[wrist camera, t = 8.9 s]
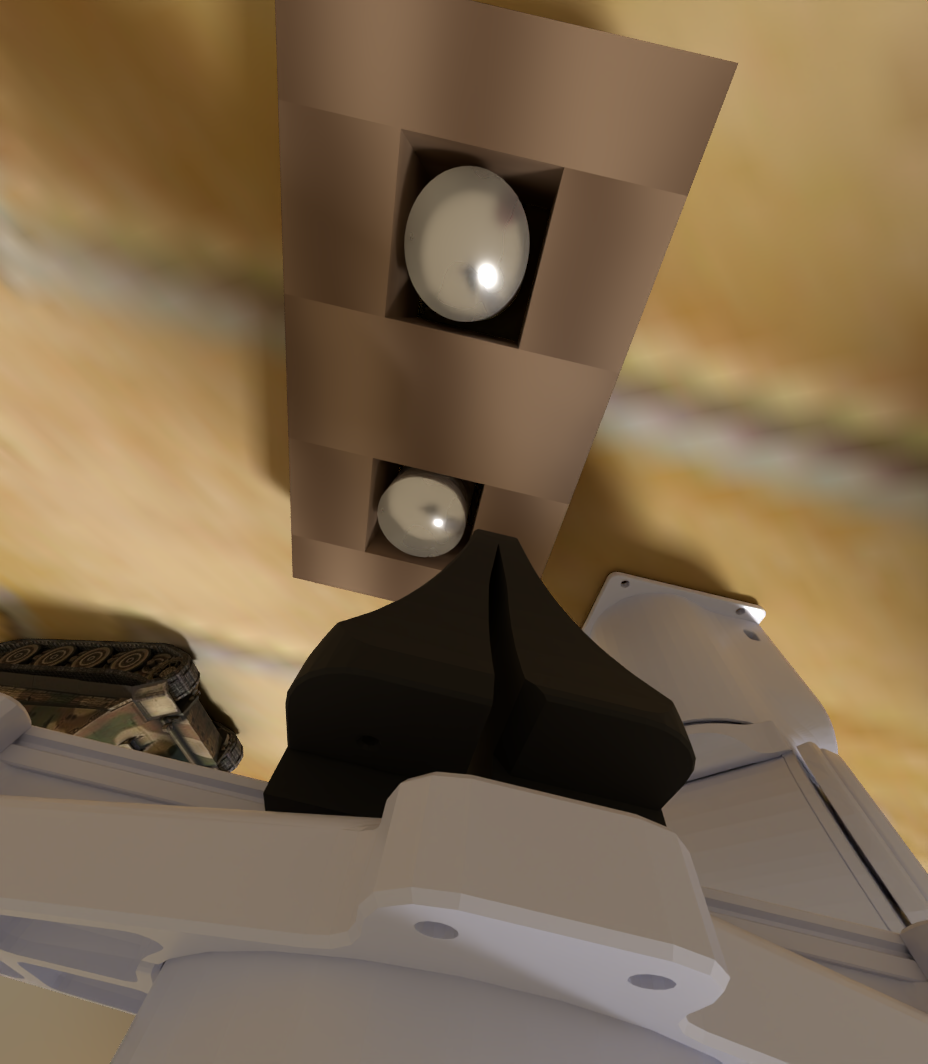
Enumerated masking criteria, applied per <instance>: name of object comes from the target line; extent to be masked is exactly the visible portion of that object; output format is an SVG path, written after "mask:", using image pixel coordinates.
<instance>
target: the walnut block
mask: <svg viewBox="0 0 928 1064" xmlns="http://www.w3.org/2000/svg"><path fill="white" fill-rule="evenodd" d="M275 12H276V45H277V77H278V110H279V142H280V175H281V208H282V240H283V273H284V305H285V338H286V371H287V403H288V436H289V468H290V501H291V534H292V566H293V577H294V578H299V579H303V580H307V581H311V582H315V583H319V584H324V585H328V586H332V587H336V588H340V589H345V590H349V591H353V592H357V593H361V594H366V595H370V596H374V597H378V598H382V599H386V600H391V601H397V600H399V599H401V598H403V597H405V596H406V595H408V594H410V593H411V592H413V591H415V590H416V589H418V588H419V587H421V586H422V585H424V584H425V583H427V582H428V581H429V580H431V579H432V578H433V577H435V576H436V575H437V574H438V573H439V572H441V571H442V570H443V569H444V568H445V567H446V566H447V565H448V564H449V563H450V562H451V561H452V560H453V559H454V558H455V557H456V556H457V555H458V554H459V553H460V552H461V550H462V549H463V548H464V547H465V546H466V544H467V543H468V541H469V540H470V538H471V537H472V535H473V532H474V531H475V530H477V529H481V530H486V531H490V532H494V533H498V534H502V535H507V536H511V537H515V538H517V539H518V540H519V542H520V544H521V546H522V548H523V550H524V552H525V554H526V555H527V557H528V559H529V561H530V563H531V565H532V566H533V568H534V570H535V571H536V573H537V575H538V576H539V578H540V579H541V577H542V574H543V571H544V569H545V566H546V564H547V561H548V558H549V556H550V553H551V550H552V548H553V545H554V543H555V540H556V537H557V535H558V532H559V530H560V527H561V524H562V522H563V519H564V517H565V514H566V511H567V509H568V506H569V504H570V501H571V498H572V496H573V493H574V490H575V488H576V485H577V483H578V480H579V477H580V475H581V472H582V470H583V467H584V464H585V462H586V459H587V457H588V454H589V451H590V449H591V446H592V444H593V441H594V438H595V436H596V433H597V430H598V428H599V425H600V423H601V420H602V417H603V415H604V412H605V410H606V407H607V404H608V402H609V399H610V397H611V394H612V391H613V389H614V386H615V384H616V381H617V378H618V376H619V373H620V370H621V368H622V365H623V363H624V360H625V357H626V355H627V352H628V350H629V347H630V344H631V342H632V339H633V337H634V334H635V331H636V329H637V326H638V324H639V321H640V318H641V316H642V313H643V311H644V308H645V305H646V303H647V300H648V297H649V295H650V292H651V290H652V287H653V284H654V282H655V279H656V277H657V274H658V271H659V269H660V266H661V264H662V261H663V258H664V256H665V253H666V251H667V248H668V245H669V243H670V240H671V237H672V235H673V232H674V230H675V227H676V224H677V222H678V219H679V217H680V214H681V211H682V209H683V206H684V204H685V201H686V198H687V196H688V193H689V191H690V188H691V185H692V183H693V180H694V177H695V175H696V172H697V170H698V167H699V164H700V162H701V159H702V157H703V154H704V151H705V149H706V146H707V144H708V141H709V138H710V136H711V133H712V131H713V128H714V125H715V123H716V120H717V117H718V115H719V112H720V110H721V107H722V104H723V102H724V99H725V97H726V94H727V91H728V89H729V86H730V84H731V81H732V78H733V76H734V73H735V71H736V68H737V65H738V63H735V62H731V61H727V60H722V59H718V58H714V57H710V56H705V55H701V54H697V53H693V52H688V51H684V50H680V49H676V48H671V47H667V46H663V45H659V44H654V43H650V42H646V41H642V40H637V39H633V38H629V37H625V36H620V35H616V34H612V33H607V32H603V31H599V30H595V29H590V28H586V27H582V26H578V25H573V24H569V23H565V22H561V21H556V20H552V19H548V18H544V17H539V16H535V15H531V14H527V13H522V12H518V11H514V10H510V9H505V8H501V7H497V6H493V5H488V4H484V3H480V2H475V1H471V0H275ZM460 166H475V167H481V168H484V169H487V170H489V171H491V172H493V173H495V174H497V175H498V176H499V177H501V178H502V179H503V180H504V181H505V182H506V183H507V184H508V185H509V186H510V187H511V188H512V190H513V191H514V192H515V194H516V195H517V197H518V199H519V201H520V202H521V203H523V204H527V205H532V206H536V207H540V208H544V209H549V210H550V214H549V218H548V223H547V227H546V231H545V235H544V239H543V243H542V247H541V251H540V255H539V259H538V263H537V267H536V271H535V275H534V279H533V283H532V287H531V291H530V295H529V299H528V303H527V307H526V311H525V315H524V319H523V324H522V328H521V332H520V336H519V340H518V341H514V340H510V339H505V338H501V337H497V336H493V335H489V334H484V333H480V332H476V331H472V330H467V329H463V328H459V327H455V326H451V325H446V324H442V323H438V322H434V321H429V320H425V319H421V318H417V312H418V304H419V294H418V293H417V291H416V289H415V287H414V286H413V284H412V281H411V279H410V276H409V273H408V269H407V266H406V260H405V250H404V240H405V231H406V225H407V221H408V217H409V214H410V212H411V209H412V206H413V204H414V203H415V201H416V199H417V197H418V196H419V194H420V193H421V191H422V190H423V189H424V188H425V186H426V185H427V184H428V183H429V182H430V181H431V180H433V179H434V178H435V177H436V176H438V175H439V174H441V173H443V172H444V171H447V170H449V169H452V168H456V167H460ZM399 464H401V465H405V466H409V467H413V468H418V469H422V470H426V471H430V472H435V473H439V474H443V475H447V476H451V477H456V478H460V479H464V480H468V481H472V482H477V483H481V484H483V485H482V489H481V493H480V497H479V501H478V505H477V509H476V513H475V517H474V522H473V526H470V525H465V529H464V532H463V535H462V537H461V539H460V541H459V542H458V544H457V545H456V546H455V547H454V548H452V549H451V550H450V551H448V552H446V553H444V554H442V555H439V556H435V557H418V556H413V555H410V554H407V553H405V552H403V551H401V550H399V549H398V548H397V547H395V546H394V545H393V544H392V543H391V542H390V541H389V540H388V539H387V538H386V537H385V535H384V534H383V532H382V530H381V528H380V525H379V522H378V515H377V512H378V504H379V501H380V499H381V497H382V495H383V494H384V492H385V491H386V490H387V488H388V487H389V486H390V484H391V483H392V482H393V480H394V479H395V478H396V476H397V475H398V467H399Z"/></svg>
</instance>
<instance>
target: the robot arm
mask: <svg viewBox="0 0 928 1064" xmlns="http://www.w3.org/2000/svg"><path fill="white" fill-rule="evenodd" d="M622 581H628V582H627V583H625V584H622V583H621V582H622ZM739 608H741V609H740V610H737V609H739ZM736 610H737V611H736ZM765 615H766V612H765V610H764V609H763V608H762V607H761V606H759V605H755V604H751V603H747V602H742V601H738V600H734V599H730V598H726V597H721V596H717V595H713V594H709V593H705V592H700V591H696V590H692V589H688V588H684V587H680V586H675V585H671V584H667V583H663V582H659V581H654V580H650V579H646V578H642V577H638V576H633V575H629V574H625V573H621V572H613V573H611V574H609V576H608V577H607V579H606V581H605V583H604V585H603V587H602V589H601V591H600V593H599V595H598V597H597V599H596V601H595V603H594V605H593V607H592V609H591V611H590V613H589V615H588V617H587V619H586V621H585V623H584V625H583V627H582V630H581V629H580V628H579V627H578V626H577V625H576V624H575V622H574V621H573V620H572V619H571V618H570V617H569V616H568V615H567V613H566V612H565V611H564V610H563V609H562V608H561V607H560V605H559V604H558V603H557V602H556V600H555V599H554V598H553V596H552V595H551V594H550V592H549V591H548V590H547V588H546V587H545V585H544V584H543V582H542V581H541V579H540V578H539V576H538V575H537V573H536V571H535V570H534V568H533V566H532V565H531V563H530V561H529V559H528V557H527V555H526V554H525V552H524V550H523V548H522V546H521V544H520V542H519V540H518V539H517V538H515V537H511V536H507V535H502V534H498V533H494V532H490V531H486V530H481V529H477V530H475V531H474V532H473V535H472V537H471V538H470V540H469V541H468V543H467V544H466V546H465V547H464V548H463V549H462V550H461V552H460V553H459V554H458V555H457V556H456V557H455V558H454V559H453V560H452V561H451V562H450V563H449V564H448V565H447V566H446V567H445V568H444V569H443V570H442V571H441V572H439V573H438V574H437V575H436V576H435V577H433V578H432V579H431V580H429V581H428V582H427V583H425V584H424V585H422V586H421V587H419V588H418V589H416V590H415V591H413V592H411V593H410V594H408V595H406V596H405V597H403V598H401V599H399V600H397V601H395V602H393V603H391V604H389V605H386V606H384V607H382V608H380V609H378V610H375V611H373V612H370V613H367V614H364V615H361V616H358V617H354V618H351V619H348V620H345V621H341V622H339V623H337V624H336V625H335V626H334V627H333V628H332V629H331V630H330V632H329V633H328V634H327V635H326V636H325V637H324V638H323V640H322V641H321V642H320V643H319V644H318V646H317V647H316V648H315V649H314V650H313V652H312V653H311V654H310V656H309V657H308V659H307V660H306V662H305V663H304V665H303V667H302V668H301V670H300V672H299V673H298V675H297V677H296V678H295V680H294V682H293V683H292V685H291V687H290V688H289V690H288V692H287V698H286V723H287V741H288V747H287V749H286V751H285V753H284V754H283V756H282V758H281V760H280V762H279V764H278V766H277V768H276V770H275V771H274V773H273V775H272V777H271V779H270V781H269V782H266V781H262V780H258V779H254V778H249V777H245V776H241V775H237V774H233V773H229V772H224V771H220V770H216V769H212V768H208V767H204V766H199V765H195V764H191V763H187V762H183V761H179V760H174V759H170V758H166V757H162V756H158V755H154V754H149V753H145V752H141V751H137V750H133V749H129V748H124V747H120V746H116V745H112V744H108V743H104V742H99V741H95V740H91V739H87V738H83V737H79V736H74V735H70V734H66V733H62V732H58V731H54V730H49V729H45V728H41V727H37V726H33V725H31V719H30V717H29V714H28V712H27V711H26V709H25V708H24V707H23V706H22V704H21V703H20V702H18V701H17V700H15V699H14V698H12V697H11V696H8V695H6V694H3V693H0V975H1V976H4V977H8V978H11V979H14V980H18V981H21V982H24V983H28V984H31V985H35V986H38V987H41V988H45V989H48V990H51V991H55V992H58V993H62V994H65V995H69V996H72V997H75V998H78V999H82V1000H86V1001H89V1002H92V1003H96V1004H99V1005H102V1006H106V1007H109V1008H112V1009H116V1010H119V1011H122V1012H126V1013H129V1014H133V1015H136V1016H135V1018H134V1020H133V1022H132V1024H131V1026H130V1027H129V1029H128V1031H127V1033H126V1035H125V1037H124V1039H123V1040H122V1042H121V1044H120V1046H119V1048H118V1049H117V1051H116V1054H115V1055H114V1057H113V1059H112V1060H111V1062H110V1064H928V874H927V873H926V871H925V870H924V868H923V867H922V866H921V864H920V863H919V862H918V860H917V859H916V858H915V856H914V855H913V853H912V852H911V851H910V849H909V848H908V847H907V845H906V844H905V843H904V841H903V840H902V838H901V837H900V836H899V834H898V833H897V832H896V830H895V829H894V828H893V826H892V825H891V824H890V822H889V821H888V819H887V818H886V817H885V815H884V814H883V813H882V811H881V810H880V809H879V807H878V806H877V805H876V803H875V802H874V801H873V799H872V798H871V797H870V795H869V794H868V793H867V791H866V790H865V788H864V787H863V786H862V784H861V783H860V782H859V780H858V779H857V778H856V776H855V775H854V774H853V772H852V771H851V770H850V768H849V767H848V766H847V765H846V763H845V762H844V761H843V759H842V758H841V757H840V756H839V755H838V748H837V742H836V737H835V733H834V729H833V726H832V723H831V721H830V718H829V716H828V714H827V713H826V711H825V709H824V707H823V706H822V704H821V703H820V701H819V700H818V699H817V697H816V696H815V695H814V694H813V692H812V691H811V690H810V689H809V687H808V686H807V685H806V684H805V682H804V681H803V680H802V679H801V677H800V676H799V675H798V673H797V672H796V671H795V670H794V668H793V667H792V666H791V665H790V663H789V662H788V661H787V660H786V658H785V657H784V656H783V655H782V653H781V652H780V651H779V650H778V648H777V647H776V646H775V644H774V643H773V642H772V641H771V639H770V638H769V637H768V636H767V634H766V633H765V632H764V631H763V629H762V628H761V627H760V626H759V623H760V622H761V621H762V620H763V618H764V617H765Z"/></svg>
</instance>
